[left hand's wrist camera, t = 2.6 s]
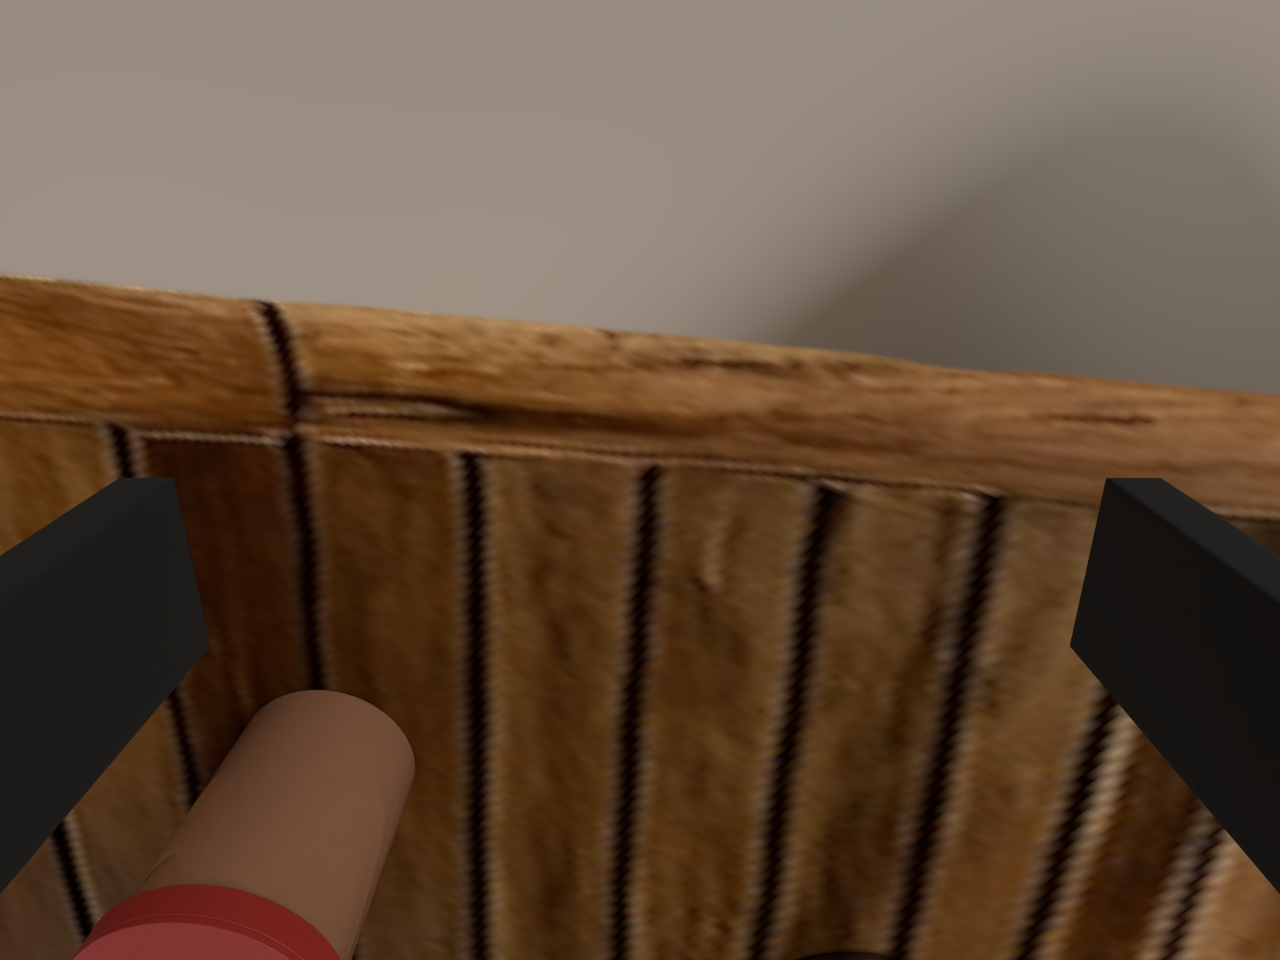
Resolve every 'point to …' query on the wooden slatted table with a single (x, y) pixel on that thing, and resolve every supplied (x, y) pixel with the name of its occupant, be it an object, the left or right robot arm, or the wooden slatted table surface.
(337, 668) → the wooden slatted table surface
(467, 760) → the wooden slatted table surface
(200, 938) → the lid
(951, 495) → the wooden slatted table surface
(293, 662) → the wooden slatted table surface
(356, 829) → the jar
